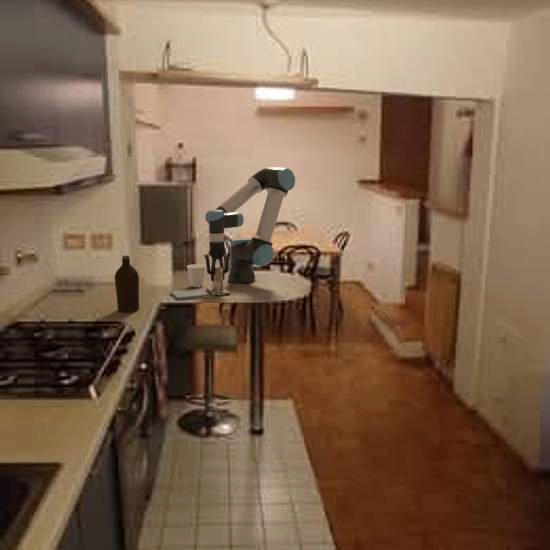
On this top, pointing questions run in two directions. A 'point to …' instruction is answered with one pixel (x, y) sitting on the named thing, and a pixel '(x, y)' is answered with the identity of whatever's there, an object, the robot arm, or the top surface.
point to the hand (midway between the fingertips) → (217, 286)
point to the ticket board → (189, 294)
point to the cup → (196, 274)
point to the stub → (218, 282)
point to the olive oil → (127, 287)
